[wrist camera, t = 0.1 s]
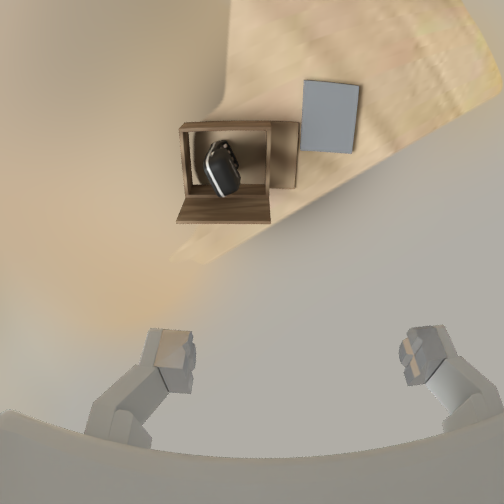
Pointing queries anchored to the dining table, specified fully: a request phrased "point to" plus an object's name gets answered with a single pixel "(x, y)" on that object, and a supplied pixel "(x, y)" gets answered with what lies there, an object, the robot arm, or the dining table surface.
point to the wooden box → (248, 195)
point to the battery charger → (222, 169)
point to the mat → (328, 116)
